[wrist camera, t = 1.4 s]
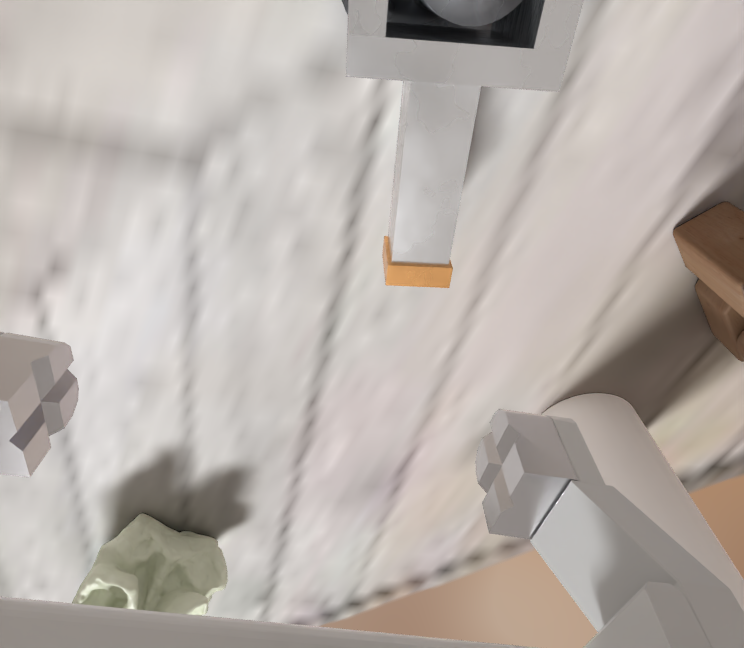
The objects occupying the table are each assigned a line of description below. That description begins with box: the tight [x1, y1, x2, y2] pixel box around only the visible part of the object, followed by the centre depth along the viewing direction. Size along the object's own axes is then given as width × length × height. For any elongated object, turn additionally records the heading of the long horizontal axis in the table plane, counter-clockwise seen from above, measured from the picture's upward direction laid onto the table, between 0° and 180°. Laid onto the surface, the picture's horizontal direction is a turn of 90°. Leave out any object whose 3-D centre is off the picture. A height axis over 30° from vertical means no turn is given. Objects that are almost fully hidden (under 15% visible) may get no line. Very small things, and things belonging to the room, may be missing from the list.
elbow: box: [346, 0, 584, 288], centre depth 22 cm, size 18×8×7 cm, turn 176°
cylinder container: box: [541, 393, 744, 612], centre depth 31 cm, size 9×9×30 cm
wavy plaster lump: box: [72, 513, 228, 616], centre depth 48 cm, size 18×13×16 cm
